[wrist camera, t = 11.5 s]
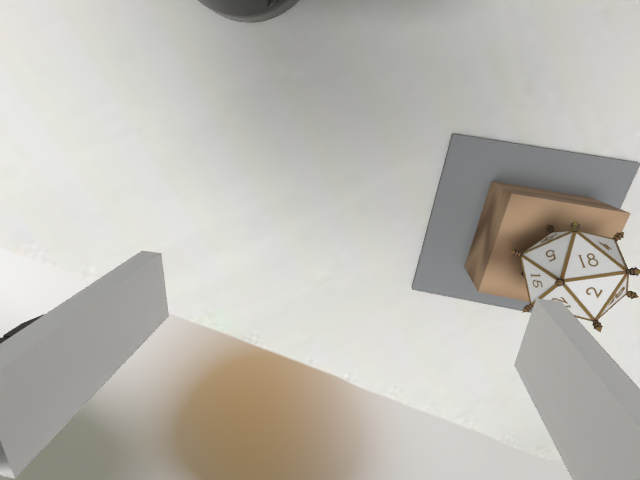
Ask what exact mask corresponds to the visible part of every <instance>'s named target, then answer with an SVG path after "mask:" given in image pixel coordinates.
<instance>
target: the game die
mask: <svg viewBox="0 0 640 480" xmlns="http://www.w3.org/2000/svg"><path fill="white" fill-rule="evenodd" d="M571 225H572V226H571V227H572V229H573V230H565V231H555V232H554V228H553V226H551V225H549V224H548V227H547V230H548V232H550V233H549V234H548V235H547V236H545V237H544V238H542V239H541V240H539V241H538V242H537V243H535V244H534V245H532V246H531V247H529V248H528V249H527V250H525V251H524V252H522V253H521V252H519V250H518V251H517V250H516V249H515V250H511V251H510V252H511V253H512V254H513V255H516V256H520V259H521V264H522V269H523V272H522V274H521V275H522V276H523V277H524V278H525V283H526V288H527V293H528V298H529V302H530V304H529V305H526V306H525V307H524V309H523V312H529V311H530V310H531V309H532V307H534V304H535V301H536V298H537V299H546V300H554V301H561V302H562V303H563V304H564V305H565V306H566V307H567V308H568V310H569V311H570V312H571V313H572V314H573V315H574V316H575V317H577V318H581V319H585V320H589V321H593V326H594V329H596V330H598V331H599V332H601V328H602V327H603V326H601V323H599V322H598V319H599V318H600V317H601V316H602V315H604V314H605V313H606V312H607V311H608V310H609V309H610V308H611V307H613V306H614V305H615V304H616V303H617V302H618V301H619V300H620V299H622V298H623V297H624V296H625V295H627V296H628V297H630V298H631V299H633V298H637V297H638V296H637V294H636V293H635V292H632V291H628V279H629V274H630V275H638V274H640V270H639V269H637V268H636V267H635V268H631V269H628V267H627V265H626V263H625V260H624V258H623V256H622V253H621V251H620V249H619V246H618V244H617V242H616V241H617V240H621V238H623V235H624V232H620V233H616V235H614V237H613V238H610V237H606V236H601V235H597V234H593V233H589V232H584V231H580V230H578V229H579V228H580V227H579V225H580V224H579V223H578V222H577V221H576V220H575V221H574V222H573V223H571Z"/></svg>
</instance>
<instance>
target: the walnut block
mask: <svg viewBox="0 0 640 480" xmlns="http://www.w3.org/2000/svg"><path fill="white" fill-rule="evenodd" d="M629 215H630V213H628V212H626V211H623V210H621V209H618V208H616V207H613V206H611V205H608V204H606V203H603V202H601V201H599V200H596V199H594V198H590V197H584V196H578V195H572V194H566V193H560V192H554V191H548V190H542V189H536V188H530V187H524V186H518V185H512V184H506V183H500V182H493V181H491V184H490V187H489V191H488V194H487V197H486V200H485V203H484V206H483V210H482V213H481V216H480V219H479V222H478V225H477V229H476V232H475V235H474V238H473V241H472V245H471V248H470V251H469V254H468V257H467V260H466V264H465V267H464V268H465V269H466V271H467V273H468V275H469V277H470V278H471V280H472V282H473V284H474V285H475V287H476V289H477V291H478V292H481V293H486V294H491V295H496V296H501V297H507V298H512V299H517V300H522V301H528V302H529V298H528V293H527V288H526V283H525V278H524V277H523V276H522V275H521V274H522V272H523V269H522V264H521V259H520V256H516V255H513V254H512V253H511V252H510V251H511V250H515V249H516V250H517V251H518V250H519V252H521V253H522V252H524V251H525V250H527V249H528V248H529V247H531V246H532V245H534V244H535V243H537V242H538V241H539V240H541V239H542V238H544V237H545V236H547V235H548V234H549V233H550V232H548V230H547V227H548V224H549V225H551V226H553V228H554V232H555V231H565V230H573V229H572V227H571V226H572V225H571V223H573V222H574V221H575V220H576V221H577V222H578V223H579V224H580V225H579V227H580V228H579V229H578V230H580V231H584V232H589V233H593V234H597V235H601V236H606V237H610V238H613V237H614V235H616V233H620V232H622V230H623V228H624V226H625V224H626V222H627V220H628V218H629ZM617 241H618V240H617ZM617 241H616V242H617Z"/></svg>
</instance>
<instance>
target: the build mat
mask: <svg viewBox="0 0 640 480" xmlns="http://www.w3.org/2000/svg"><path fill="white" fill-rule="evenodd" d="M639 166H640V163H637V162H630V161H624V160H618V159H611V158H605V157H598V156H592V155H585V154H579V153H573V152H566V151H560V150H553V149H547V148H541V147H534V146H528V145H521V144H515V143H508V142H502V141H496V140H489V139H483V138H476V137H470V136H463V135H457V134H452V137H451V140H450V144H449V148H448V152H447V155H446V159H445V163H444V167H443V171H442V174H441V178H440V182H439V186H438V190H437V193H436V197H435V201H434V205H433V209H432V212H431V216H430V220H429V224H428V228H427V231H426V235H425V239H424V243H423V247H422V250H421V254H420V258H419V262H418V266H417V269H416V273H415V277H414V281H413V284H412V290H417V291H422V292H428V293H433V294H438V295H443V296H448V297H453V298H458V299H464V300H469V301H474V302H479V303H484V304H489V305H495V306H500V307H505V308H510V309H515V310H520V311H523V309H524V307H525V306H526V305H529V304H530V302H528V301H522V300H517V299H512V298H507V297H501V296H496V295H491V294H486V293H481V292H478V291H477V289H476V287H475V285H474V284H473V282H472V280H471V278H470V277H469V275H468V273H467V271H466V269H465V268H464V267H465V264H466V260H467V257H468V254H469V251H470V248H471V245H472V241H473V238H474V235H475V232H476V229H477V225H478V222H479V219H480V216H481V213H482V210H483V206H484V203H485V200H486V197H487V194H488V191H489V187H490V184H491V181H493V182H500V183H506V184H512V185H518V186H524V187H530V188H536V189H542V190H548V191H554V192H560V193H566V194H572V195H578V196H584V197H590V198H594V199H596V200H599V201H601V202H603V203H606V204H608V205H611V206H613V207H616V208H618V209H620V208H621V205H622V203H623V201H624V199H625V197H626V195H627V192H628V190H629V188H630V186H631V184H632V181H633V179H634V177H635V175H636V173H637V170H638V168H639ZM532 310H533V307H532V309H531V310H530V311H529V312H531V313H532Z"/></svg>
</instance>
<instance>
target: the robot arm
mask: <svg viewBox="0 0 640 480" xmlns="http://www.w3.org/2000/svg"><path fill="white" fill-rule="evenodd" d="M198 1H200V2H201V3H202V4H203V5H205V6H206V7H208V8H210V9H211V10H213V11H214V12H216V13H218V14H220V15H222V16H224V17H226V18H229V19H232V20H235V21H240V22H259V21H264V20H268V19H271V18H274V17H276V16H278V15H280V14H282V13H283V12H285V11H286V10H288V9H289V8H290V7H292V6H293V5H294V4H295V3H296V2H297V1H298V0H198ZM168 316H169V315H168V306H167V298H166V289H165V281H164V272H163V264H162V255H161V253H155V252H147V251H141V252H140V253H138V254H136V255H135V256H133V257H132V258H130V259H129V260H127V261H126V262H124V263H123V264H121V265H120V266H118V267H117V268H115V269H114V270H112V271H111V272H109V273H107V274H106V275H104V276H103V277H101V278H100V279H98V280H97V281H95V282H94V283H92V284H91V285H90V286H88V287H86V288H85V289H83V290H82V291H80V292H79V293H77V294H76V295H74V296H72V297H71V298H70V299H68V300H66V301H65V302H63V303H62V304H60V305H59V306H57V307H56V308H54V309H53V310H51V311H50V312H48V313H47V314H45V315H41V316H39V317H37V318H34V319H32V320H29V321H27V322H24V323H22V324H20V325H19V326H18V327H16V328H14V329H13V330H11V331H9V332H8V333H6V334H5V335H4V336H3V338H0V475H1V476H7V477H11V478H16V476H18V474H19V473H20V472H21V471H22V470H23V469H24V468H25V467H26V466H27V465H28V464H29V463H30V462H31V461H32V459H34V457H35V456H36V455H37V454H38V453H39V452H40V451H41V450H42V449H43V448H44V447H45V446H46V445H47V444H48V443H49V442H50V441H51V439H53V437H54V436H55V435H56V434H57V433H58V432H59V431H60V430H61V429H62V428H63V427H64V426H65V425H66V424H67V423H68V422H69V421H70V420H71V419H72V418H73V417H74V415H75V414H76V413H77V412H78V411H79V410H80V409H81V408H82V407H83V406H84V405H85V404H86V403H87V402H88V401H89V400H90V399H91V398H92V396H93V395H94V394H95V393H96V392H97V391H98V390H99V389H100V388H101V387H102V386H103V385H104V384H105V383H106V381H108V380H109V379H110V378H111V377H112V375H113V374H114V373H115V372H116V371H117V370H118V369H119V368H120V367H121V366H122V365H123V364H124V363H125V362H126V361H127V360H128V359H129V357H130V356H131V355H132V354H133V353H134V352H135V351H136V350H137V349H138V348H139V347H140V346H141V345H142V344H143V343H144V342H145V341H146V339H147V338H148V337H149V336H150V335H151V334H152V333H153V332H154V331H155V330H156V329H157V328H158V327H159V326H160V325H161V324H162V323H163V321H165V320H166V319H167V318H168ZM515 367H516V369H517V371H518V373H519V375H520V377H521V379H522V381H523V383H524V385H525V387H526V389H527V391H528V393H529V395H530V397H531V399H532V401H533V403H534V405H535V407H536V408H537V410H538V412H539V414H540V416H541V418H542V420H543V422H544V424H545V426H546V428H547V430H548V432H549V434H550V436H551V438H552V440H553V442H554V444H555V446H556V448H557V450H558V452H559V454H560V456H561V458H562V459H563V461H564V463H565V465H566V467H567V469H568V471H569V473H570V475H571V477H572V479H573V480H640V389H639V388H638V387H637V385H636V384H635V383H634V382H633V381H632V380H631V379H630V378H629V376H628V375H627V374H626V373H625V372H624V371H623V370H622V369H621V368H620V366H619V365H618V364H617V363H616V362H615V361H614V360H613V359H612V358H611V356H610V355H609V354H608V353H607V352H606V351H605V350H604V349H603V347H602V346H601V345H600V344H599V343H598V342H597V341H596V340H595V339H594V337H593V336H592V335H591V334H590V333H589V332H588V331H587V330H586V329H585V327H584V326H583V325H582V324H581V323H580V322H579V321H578V320H577V318H576V317H575V316H574V315H573V314H572V313H571V312H570V311H569V310H568V308H567V307H566V306H565V305H564V304H563V303H562V302H561V301H554V300H546V299H537V298H536V301H535V304H534V307H533V310H532V313H531V316H530V319H529V322H528V325H527V328H526V331H525V334H524V337H523V340H522V343H521V346H520V350H519V353H518V356H517V359H516V362H515Z"/></svg>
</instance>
